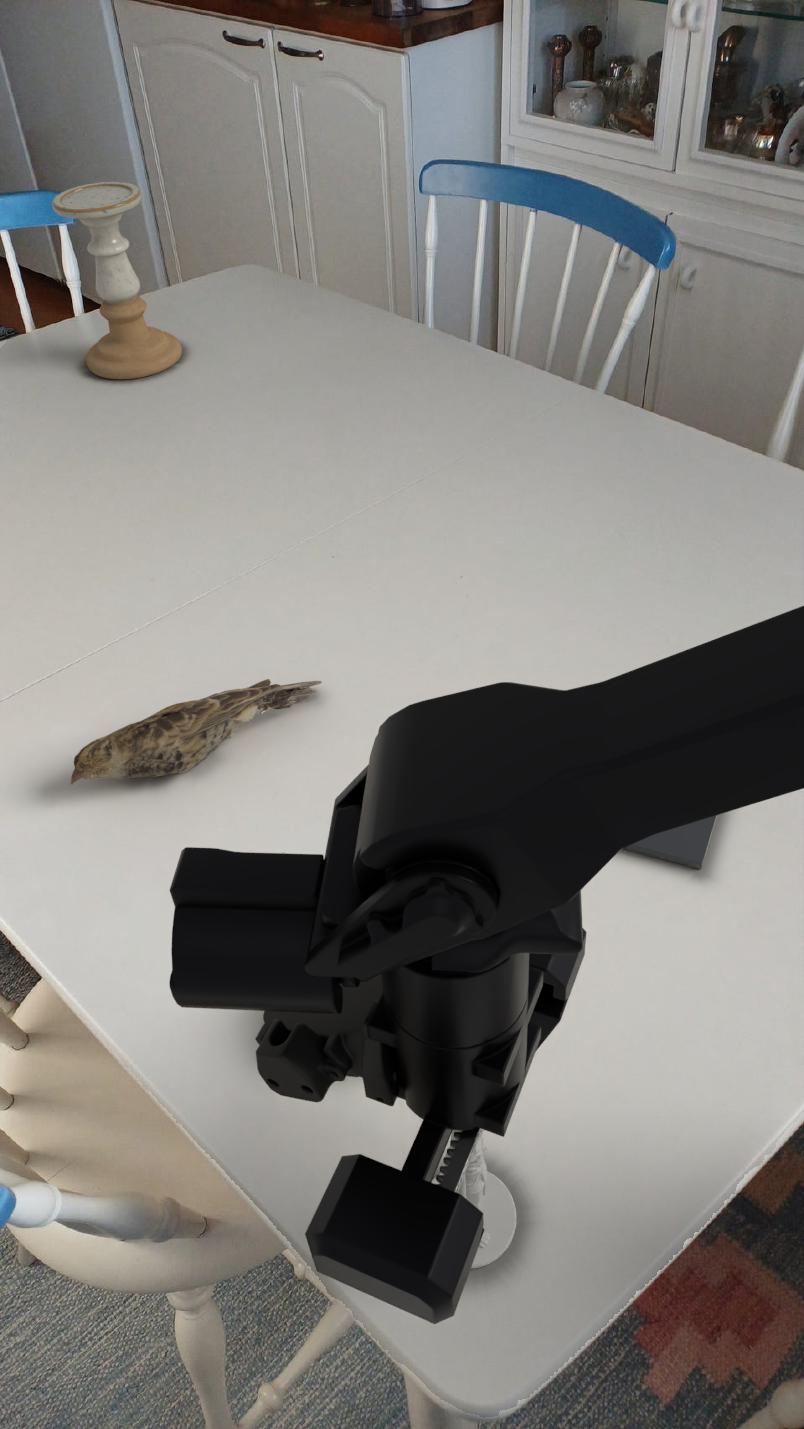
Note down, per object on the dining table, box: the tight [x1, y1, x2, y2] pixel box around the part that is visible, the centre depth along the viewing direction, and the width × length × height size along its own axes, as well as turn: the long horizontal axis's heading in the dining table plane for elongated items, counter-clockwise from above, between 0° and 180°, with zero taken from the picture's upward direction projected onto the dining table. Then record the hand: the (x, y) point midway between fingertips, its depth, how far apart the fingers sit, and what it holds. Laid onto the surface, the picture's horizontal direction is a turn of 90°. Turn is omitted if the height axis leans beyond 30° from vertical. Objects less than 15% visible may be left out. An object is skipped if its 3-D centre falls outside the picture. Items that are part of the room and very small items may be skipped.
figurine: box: [431, 1130, 517, 1270], centre depth 53 cm, size 5×5×12 cm
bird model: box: [69, 678, 323, 786], centre depth 83 cm, size 21×6×5 cm
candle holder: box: [51, 181, 183, 380], centre depth 133 cm, size 12×12×20 cm
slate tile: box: [623, 815, 718, 870], centre depth 78 cm, size 11×11×1 cm
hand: (465, 1163), depth 53 cm, fingers open, 9 cm apart
